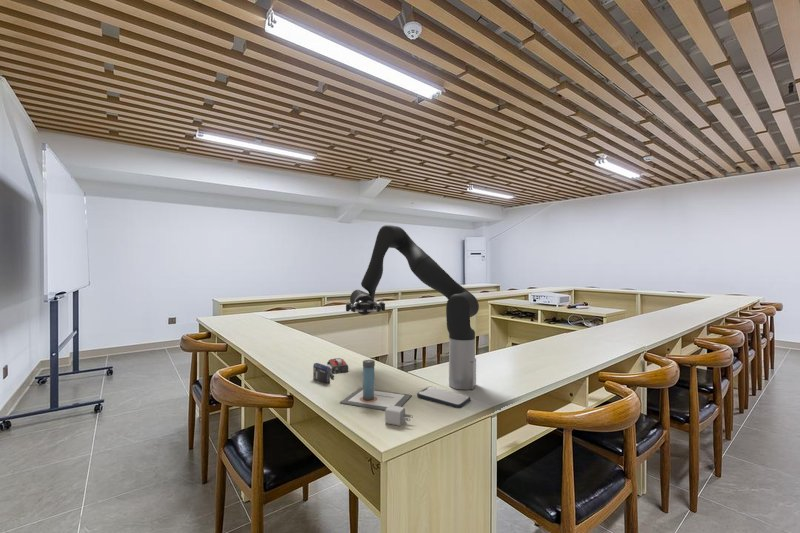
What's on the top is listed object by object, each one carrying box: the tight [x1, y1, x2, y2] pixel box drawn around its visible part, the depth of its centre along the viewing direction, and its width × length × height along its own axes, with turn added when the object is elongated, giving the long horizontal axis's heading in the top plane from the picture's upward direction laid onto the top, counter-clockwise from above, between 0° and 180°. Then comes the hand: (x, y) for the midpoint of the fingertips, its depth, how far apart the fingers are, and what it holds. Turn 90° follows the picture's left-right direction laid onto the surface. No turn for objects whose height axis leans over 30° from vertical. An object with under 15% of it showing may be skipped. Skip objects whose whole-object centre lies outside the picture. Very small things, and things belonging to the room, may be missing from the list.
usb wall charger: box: [384, 405, 414, 427], centre depth 98 cm, size 4×7×4 cm, turn 67°
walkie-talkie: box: [326, 357, 349, 378], centre depth 145 cm, size 9×4×20 cm
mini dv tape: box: [312, 362, 331, 385], centre depth 133 cm, size 8×2×6 cm, turn 49°
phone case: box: [416, 386, 471, 409], centre depth 116 cm, size 9×2×16 cm
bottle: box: [362, 359, 376, 401], centre depth 113 cm, size 4×4×12 cm
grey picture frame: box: [339, 387, 413, 412], centre depth 115 cm, size 19×14×1 cm
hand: (366, 309), depth 124 cm, fingers open, 8 cm apart
